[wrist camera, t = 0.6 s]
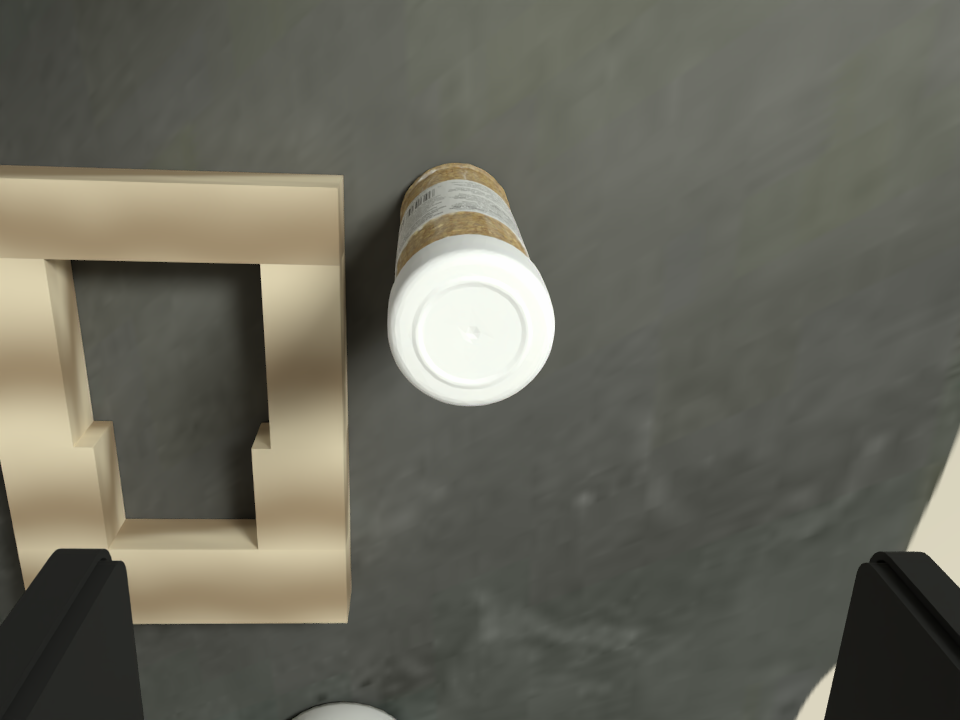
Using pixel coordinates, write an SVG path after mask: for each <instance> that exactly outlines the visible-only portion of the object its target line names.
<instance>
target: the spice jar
mask: <svg viewBox="0 0 960 720" xmlns="http://www.w3.org/2000/svg"><path fill="white" fill-rule="evenodd" d="M387 329H388V340H389V345H390V349H391V352H392V355H393V357H394V360H395V362H396V364H397V366H398V367H399V369H400V370H401V372H402V373H403V374H404V376H405V377H406V378H407V379H408V380H409V381H410V382H411V383H412V384H413V385H414V386H415V387H416V388H418V389H419V390H420V391H422V392H423V393H425V394H427V395H428V396H430V397H432V398H434V399H436V400H439V401H442V402H444V403H448V404H453V405H459V406H480V405H486V404H491V403H495V402H498V401H501V400H504V399H505V398H508V397H510V396H512V395H513V394H516V393H517V392H518V391H520V390H521V389H522V388H524V387H525V386H526V385H527V384H529V383H530V382H531V381H532V380H533V379H534V377H535V376H536V375H537V374H538V373H539V371H540V370H541V369H542V367H543V366H544V364H545V362H546V360H547V358H548V356H549V354H550V351H551V348H552V344H553V339H554V331H555V318H554V312H553V307H552V304H551V300H550V297H549V294H548V291H547V289H546V286H545V283H544V281H543V279H542V277H541V275H540V273H539V271H538V270H537V268H536V266H535V265H534V264H533V263H532V262H531V261H530V258H529V256H528V253H527V250H526V248H525V245H524V243H523V240H522V237H521V235H520V232H519V229H518V227H517V225H516V222H515V220H514V217H513V215H512V213H511V211H510V206H509V203H508V200H507V197H506V194H505V192H504V190H503V188H502V187H501V186H500V185H499V184H498V183H497V181H496V180H495V179H494V178H493V177H492V176H491V175H490V174H488V173H487V172H486V171H484V170H483V169H480V168H478V167H476V166H473V165H470V164H462V163H449V164H443V165H440V166H436V167H433V168H432V169H430V170H427V171H426V172H424V173H423V174H422V175H421V176H420V177H418V178H417V179H416V180H415V182H414V183H413V184H412V185H411V186H410V188H409V189H408V190H407V192H406V194H405V197H404V200H403V203H402V206H401V210H400V230H399V238H398V247H397V256H396V267H395V282H394V284H393V286H392V289H391V292H390V298H389V304H388V320H387Z"/></svg>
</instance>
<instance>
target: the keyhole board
mask: <svg viewBox="0 0 960 720" xmlns="http://www.w3.org/2000/svg"><path fill="white" fill-rule="evenodd" d="M71 260H106V261H151V262H195V263H240V264H260V269H261V286H262V304H263V321H264V338H265V356H266V373H267V390H268V407H269V423H261V425H260V428H259V430H258V433H257V435H256V438H255V441H254V443H253V446H252V449H251V450H252V465H253V480H254V495H255V509H256V519H126V518H125V511H124V503H123V496H122V488H121V481H120V474H119V466H118V459H117V451H116V444H115V436H114V429H113V422H112V421H94V420H93V413H92V406H91V399H90V392H89V386H88V379H87V372H86V365H85V358H84V351H83V344H82V337H81V330H80V323H79V316H78V309H77V302H76V295H75V288H74V281H73V274H72V267H71ZM0 461H1V467H2V472H3V477H4V482H5V487H6V492H7V498H8V503H9V508H10V513H11V518H12V524H13V529H14V534H15V539H16V544H17V549H18V555H19V560H20V565H21V570H22V575H23V580H24V586H25V591H26V590H27V588H28V587H29V585H30V584H31V583H32V581H33V580H34V578H35V577H36V576H37V574H38V573H39V571H40V570H41V569H42V567H43V566H44V564H45V563H46V562H47V560H48V559H49V557H50V556H51V555H52V553H53V552H54V551H55V550H56V549H61V548H81V549H107V550H108V551H109V553H110V555H111V558H112V561H123V562H124V563H125V566H126V570H127V577H128V586H129V594H130V603H131V612H132V620H133V624H221V623H347V621H348V613H349V605H350V597H351V547H350V495H349V443H348V391H347V339H346V287H345V235H344V183H343V175H318V174H284V173H250V172H216V171H182V170H149V169H115V168H81V167H47V166H13V165H0Z"/></svg>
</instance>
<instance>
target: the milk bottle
mask: <svg viewBox="0 0 960 720" xmlns="http://www.w3.org/2000/svg"><path fill="white" fill-rule="evenodd" d="M292 720H396V719H395V718H394V717H393V716H392V715H390V714H388V713H386V712H385V711H383V710H381V709H378V708H375V707H373V706H370V705H366V704H361V703H356V702H335V703H327V704H323V705H319V706H315V707H313V708H311V709H309V710H306V711H304V712H302V713H300V714H299V715H298V716H296V717H295V718H293V719H292Z"/></svg>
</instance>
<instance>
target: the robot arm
mask: <svg viewBox="0 0 960 720" xmlns="http://www.w3.org/2000/svg"><path fill="white" fill-rule="evenodd" d="M0 720H144V716H143V707H142V699H141V690H140V681H139V673H138V664H137V655H136V647H135V638H134V629H133V620H132V612H131V603H130V594H129V586H128V577H127V570H126V566H125V563H124V562H123V561H112V558H111V555H110V553H109V551H108V550H107V549H81V548H61V549H56V550H55V551H54V552H53V553H52V555H51V556H50V557H49V559H48V560H47V562H46V563H45V564H44V566H43V567H42V569H41V570H40V571H39V573H38V574H37V576H36V577H35V578H34V580H33V581H32V583H31V584H30V585H29V587H28V588H27V590H26V591H25V592H24V594H23V595H22V597H21V598H20V599H19V601H18V602H17V604H16V605H15V606H14V608H13V609H12V611H11V612H10V613H9V615H8V616H7V618H6V619H5V620H4V622H3V623H2V625H1V626H0ZM824 720H960V588H959V587H958V586H957V585H956V584H955V583H954V582H953V581H952V580H951V579H950V577H949V576H948V575H947V574H946V573H945V572H944V571H943V570H942V569H941V568H940V567H939V566H938V565H937V564H936V563H935V562H934V561H933V560H932V559H931V558H930V557H929V556H928V555H926V554H925V553H923V552H877V553H875V554H874V555H873V556H872V558H871V559H870V562H869V563H863V564H861V566H860V567H859V569H858V571H857V575H856V579H855V584H854V588H853V593H852V597H851V602H850V606H849V611H848V615H847V619H846V624H845V628H844V633H843V637H842V642H841V646H840V651H839V655H838V660H837V664H836V669H835V673H834V678H833V682H832V687H831V691H830V696H829V700H828V705H827V709H826V714H825V718H824Z"/></svg>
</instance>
